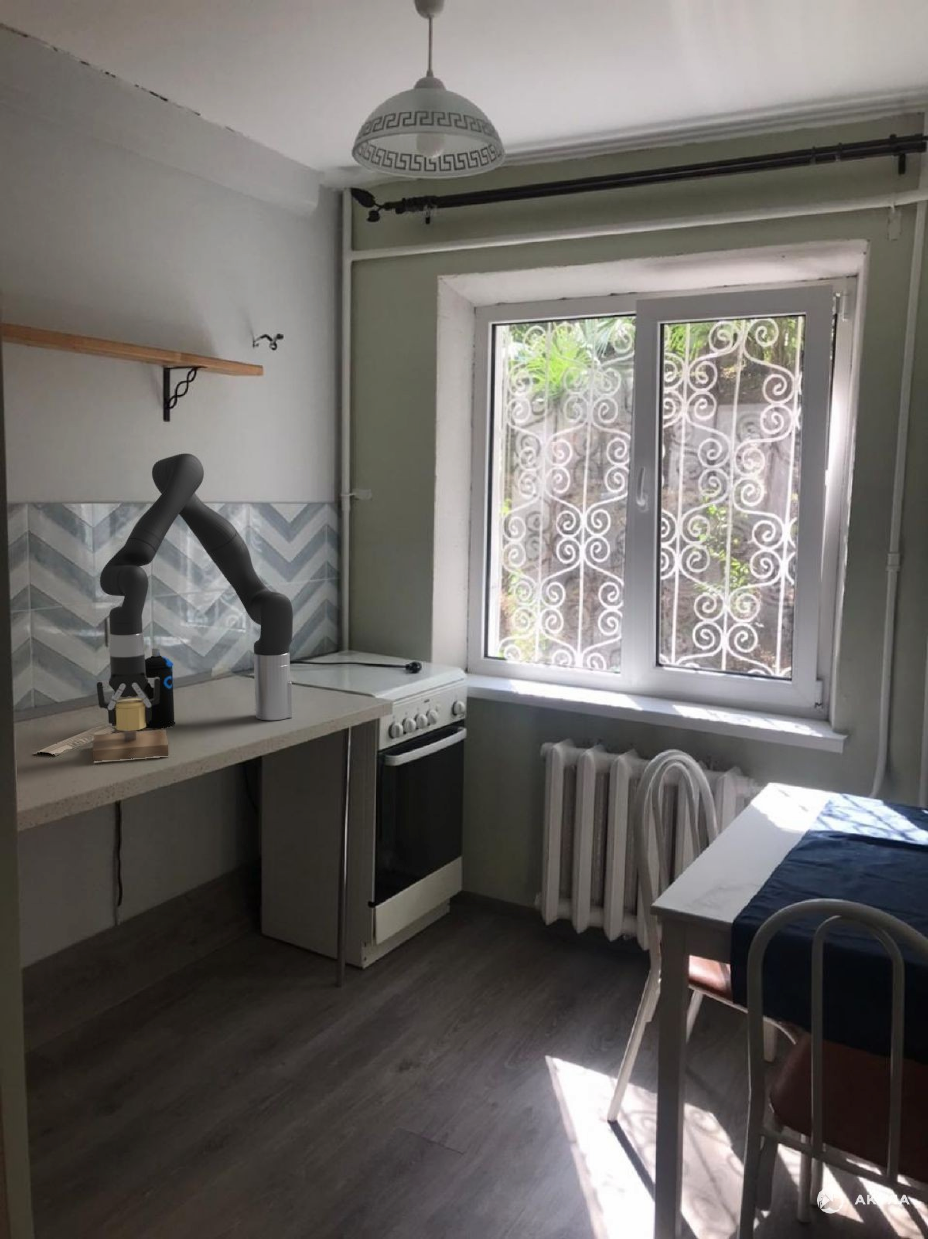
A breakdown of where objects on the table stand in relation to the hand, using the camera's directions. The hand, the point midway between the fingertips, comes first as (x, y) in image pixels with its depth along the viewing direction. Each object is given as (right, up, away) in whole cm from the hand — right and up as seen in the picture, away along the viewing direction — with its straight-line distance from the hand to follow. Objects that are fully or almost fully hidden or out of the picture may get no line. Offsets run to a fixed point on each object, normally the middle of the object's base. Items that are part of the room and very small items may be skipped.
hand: (130, 723), depth 228 cm
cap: (0, -1, 0) cm, 1 cm away
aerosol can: (-1, -3, +26) cm, 26 cm away
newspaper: (-16, -6, +9) cm, 19 cm away
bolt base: (0, -7, +1) cm, 7 cm away
